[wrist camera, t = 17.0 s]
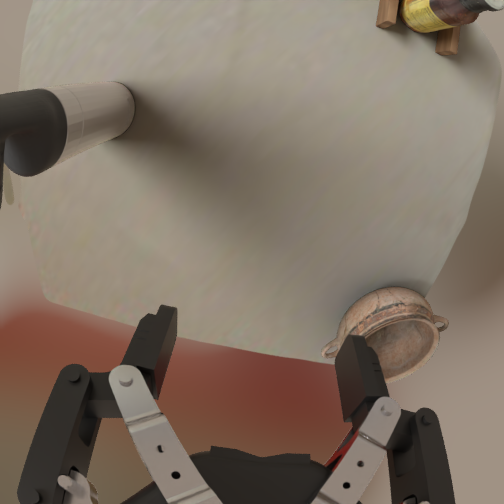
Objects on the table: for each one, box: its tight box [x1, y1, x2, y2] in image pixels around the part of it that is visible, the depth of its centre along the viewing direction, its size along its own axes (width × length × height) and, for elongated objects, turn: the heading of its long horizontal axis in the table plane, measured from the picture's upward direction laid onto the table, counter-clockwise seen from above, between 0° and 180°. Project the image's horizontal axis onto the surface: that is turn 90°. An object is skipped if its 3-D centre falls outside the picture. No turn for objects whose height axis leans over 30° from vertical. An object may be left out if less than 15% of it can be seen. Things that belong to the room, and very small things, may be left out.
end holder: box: [376, 0, 460, 55], centre depth 26 cm, size 11×11×4 cm
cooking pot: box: [321, 287, 449, 384], centre depth 50 cm, size 25×19×12 cm
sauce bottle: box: [399, 0, 504, 33], centre depth 19 cm, size 6×6×20 cm
